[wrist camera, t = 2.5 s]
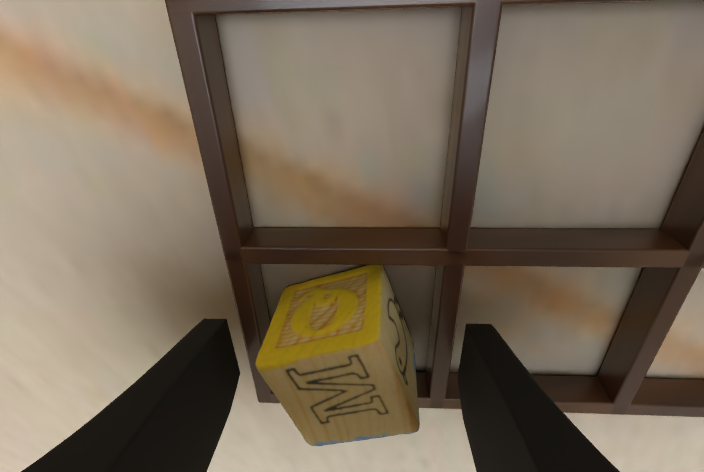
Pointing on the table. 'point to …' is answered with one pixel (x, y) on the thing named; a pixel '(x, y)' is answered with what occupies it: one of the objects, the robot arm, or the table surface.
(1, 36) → the table surface
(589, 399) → the frame
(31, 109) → the table surface
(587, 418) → the table surface
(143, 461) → the robot arm
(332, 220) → the table surface
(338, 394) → the alphabet block
